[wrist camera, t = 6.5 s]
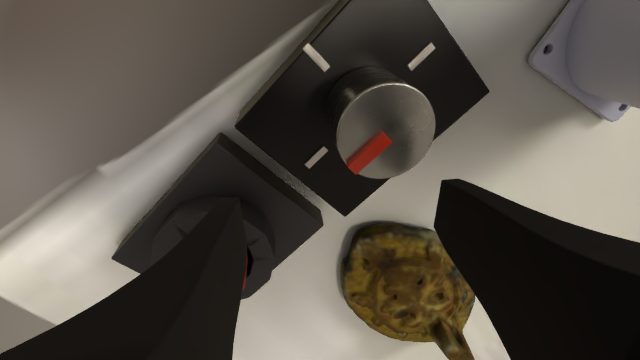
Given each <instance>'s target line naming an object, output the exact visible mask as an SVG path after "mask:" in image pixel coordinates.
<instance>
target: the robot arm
mask: <svg viewBox="0 0 640 360" xmlns="http://www.w3.org/2000/svg"><path fill="white" fill-rule="evenodd" d="M545 46H547V50H546V52H544V53H543V50H544V48H545ZM528 63H529V65H530V66H531V67H533V68H534V69H536V70H537V71H538V72H540V73H541V74H542V75H544V76H545V77H547V78H548V79H549V80H551V81H552V82H554V83H555V84H556V85H558V86H559V87H561V88H562V89H563V90H565V91H566V92H568V93H569V94H570V95H572V96H573V97H574V98H576V99H577V100H579V101H580V102H581V103H583V104H584V105H586V106H587V107H588V108H590V109H591V110H593V111H594V112H595V113H597V114H598V115H600V116H601V117H602V118H604V119H605V120H608V121H611V122H613V121H616V120H618V119H619V118H620V117H621V116H622V115H623V114H624V113H625V112H626V111H627V110H628V109H629V108H630V107H631V106H633V107H636V108H640V0H570V1H569V3H568V4H567V5H566V7H565V8H564V9H563V11H562V12H561V13H560V15H559V16H558V17H557V19H556V20H555V21H554V23H553V24H552V25H551V27H550V28H549V29H548V31H547V32H546V33H545V35H544V36H543V37H542V39H541V40H540V41H539V43H538V44H537V45H536V47H535V48H534V49H533V51H532V52H531V54H530V55H529V58H528ZM620 105H621V106H620ZM434 228H435V230H436V233H437V235H438V237H439V239H440V241H441V243H442V245H443V247H444V249H445V251H446V252H447V254H448V255H449V257H450V258H451V260H452V261H453V263H454V264H455V266H456V267H457V269H458V270H459V272H460V273H461V275H462V276H463V278H464V279H465V281H466V282H467V284H468V285H469V286H470V288H471V289H472V291H473V292H474V294H475V295H476V297H477V298H478V300H479V301H480V303H481V304H482V306H483V308H484V309H485V311H486V313H487V314H488V316H489V318H490V320H491V322H492V324H493V326H494V328H495V329H496V331H497V333H498V335H499V337H500V339H501V341H502V343H503V345H504V347H505V349H506V351H507V353H508V355H509V357H510V359H511V360H640V243H639V242H634V241H630V240H626V239H623V238H619V237H615V236H611V235H607V234H603V233H600V232H596V231H593V230H589V229H586V228H583V227H580V226H577V225H574V224H571V223H568V222H564V221H561V220H559V219H556V218H553V217H550V216H548V215H545V214H543V213H540V212H537V211H535V210H532V209H530V208H527V207H525V206H522V205H520V204H518V203H515V202H513V201H511V200H508V199H506V198H504V197H501V196H499V195H497V194H495V193H492V192H490V191H488V190H486V189H483V188H481V187H479V186H476V185H474V184H472V183H469V182H466V181H464V180H460V179H449V180H442V182H441V187H440V193H439V199H438V204H437V210H436V216H435V222H434ZM246 258H247V241H246V235H245V229H244V223H243V218H242V212H241V206H240V200H239V197H233V198H221V199H220V200H219V201H218V202H217V203H216V204H215V205H214V206H213V207H212V209H211V210H210V211H209V212H208V213H207V214H206V215H205V216H204V217H203V219H202V220H201V221H200V222H199V223H198V224H197V225H196V226H195V227H194V228H193V229H192V230H191V231H190V232H189V233H188V234H187V235H186V236H185V237H184V238H183V239H182V240H181V241H180V242H179V243H178V244H177V245H176V246H175V247H173V248H172V249H171V250H170V251H169V252H168V253H167V254H166V255H165V256H163V257H162V258H161V259H160V260H159V261H157V262H156V263H155V264H153V265H152V266H151V267H150V268H148V269H147V270H146V271H144V272H143V273H142V274H140V275H139V276H138V277H136V278H135V279H133V280H132V281H130V282H129V283H127V284H126V285H124V286H123V287H121V288H120V289H118V290H117V291H115V292H114V293H112V294H111V295H109V296H108V297H106V298H105V299H103V300H101V301H100V302H98V303H96V304H95V305H93V306H91V307H90V308H88V309H86V310H85V311H83V312H81V313H79V314H77V315H76V316H74V317H72V318H70V319H69V320H67V321H65V322H63V323H61V324H59V325H57V326H56V327H54V328H52V329H50V330H48V331H46V332H44V333H42V334H40V335H38V336H36V337H34V338H32V339H30V340H28V341H26V342H24V343H22V344H20V345H18V346H16V347H14V348H12V349H9V350H7V351H5V352H3V353H1V354H0V360H232V354H233V342H234V335H235V328H236V322H237V317H238V311H239V306H240V300H241V295H242V289H243V284H244V278H245V272H246Z"/></svg>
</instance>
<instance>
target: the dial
mask: <svg viewBox="0 0 640 360" xmlns="http://www.w3.org/2000/svg"><path fill="white" fill-rule="evenodd" d="M325 118H326V123H327V126H328V128H329V131H330V133H331V135H332V138H333V140H334V142H335V145H336V147H337V149H338V152H339V154H340V156H341V158H342V160H343V161H344V162H345V164H346V165H347V167H348V168H349V169H350V170H351V171H352V172H353V173H355V174H356V175H357V174H359V175H362V176H365V177H368V178H374V179H384V178H390V177H394V176H397V175H400V174H402V173H404V172H406V171H408V170H409V169H411V168H412V167H414V166H415V165H416V164H417V163H418V162H419V161H420V160H421V159H422V158H423V157H424V155H425V154H426V153H427V151H428V149H429V147H430V146H431V143H432V141H433V138H434V134H435V114H434V111H433V108H432V105H431V103H430V102H429V100H428V99H427V97H426V96H425V95H424V94H423V93H422V92H421V91H419V90H418V89H417V88H415V87H413V86H412V85H410V84H408V83H407V82H405V81H403V80H401V79H400V78H398V77H396V76H395V75H393V74H391V73H390V72H388V71H386V70H384V69H381V68H377V67H362V68H358V69H355V70H352V71H350V72H348V73H347V74H345V75H344V76H342V77H341V78H340V79H339V80H338V81H337V82H336V83H335V84H334V86H333V87H332V89H331V90H330V92H329V94H328V97H327V100H326V105H325Z"/></svg>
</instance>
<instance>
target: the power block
mask: <svg viewBox="0 0 640 360" xmlns="http://www.w3.org/2000/svg"><path fill="white" fill-rule="evenodd" d="M233 197H239V200H240V206H241V212H242V218H243V223H244V229H245V235H246V241H247V256H248V264H247V274H246V282H245V287H244V289H243V291H242V295H241V299H245V298H248V297H250V296H252V295H253V294H254V293H255V292H256V291H257V290H258V289H260V288H261V287H262V286H263V285H264V284H265V283H267V282H268V281H269V280H270V277H271V273H272V270H273V269H274V268H276V267H277V266H278V265H279V264H280V263H281V262H282V261H284V260H285V259H286V258H287V257H288V256H289V255H290V254H292V253H293V252H294V251H295V250H296V249H297V248H298V247H300V246H301V245H302V244H303V243H304V242H305V241H306V240H307V239H309V238H310V237H311V236H312V235H313V234H314V233H315V232H317V231H318V230H319V229H320V228H321V227H322V226H323V225H324V224H323V220H322V215H321V211H320V210H319V209H318V208H317V207H316V206H314V205H313V204H312V203H311V202H309V201H308V200H307V199H305V198H304V197H303V196H302V195H300V194H299V193H298V192H297V191H295V190H294V189H293V188H291V187H290V186H289V185H288V184H286V183H285V182H284V181H283V180H281V179H280V178H279V177H277V176H276V175H275V174H274V173H272V172H271V171H270V170H269V169H267V168H266V167H265V166H263V165H262V164H261V163H260V162H258V161H257V160H256V159H255V158H253V157H252V156H251V155H249V154H248V153H247V152H246V151H244V150H243V149H242V148H241V147H239V146H238V145H237V144H235V143H234V142H233V141H232V140H230V139H229V138H228V137H227V136H225V135H224V134H223V133H219V134H218V135H217V136H216V137H215V139H214V140H213V141H212V142H211V143H210V144H209V145H208V146H207V147H206V149H205V150H204V151H203V152H202V153H201V154H200V155H199V156H198V157H197V159H196V160H195V161H194V162H193V163H192V164H191V165H190V166H189V167H188V169H187V170H186V171H185V172H184V173H183V174H182V175H181V176H180V178H179V179H178V180H177V181H176V182H175V183H174V184H173V185H172V186H171V188H170V189H169V190H168V191H167V192H166V193H165V194H164V195H163V196H162V198H161V199H160V200H159V201H158V202H157V203H156V204H155V205H154V206H153V208H152V209H151V210H150V211H149V212H148V213H147V214H146V215H145V216H144V218H143V219H142V220H141V221H140V222H139V223H138V224H137V225H136V226H135V228H134V229H133V230H132V231H131V232H130V233H129V234H128V235H127V236H126V238H125V239H124V240H123V241H122V242H121V244H120V245H119V247H118V249H117V250H116V252H115V253H114V255H113V256H112V259H113V260H114V261H116V262H118V263H120V264H122V265H124V266H126V267H128V268H130V269H132V270H134V271H136V272H138V273H140V274H142V273H143V272H144V271H146V270H147V269H148V268H150V267H151V266H152V265H153V264H155V263H156V262H157V261H159V260H160V259H161V258H162V257H163V256H165V255H166V254H167V253H168V252H169V251H170V250H171V249H172V248H173V247H175V246H176V245H177V244H178V243H179V242H180V241H181V240H182V239H183V238H184V237H185V236H186V235H187V234H188V233H189V232H190V231H191V230H192V229H193V228H194V227H195V226H196V225H197V224H198V223H199V222H200V221H201V220H202V219H203V217H204V216H205V215H206V214H207V213H208V212H209V211H210V210H211V209H212V207H213V206H214V205H215V204H216V203H217V202H218V201H219V200H220V199H221V198H233Z"/></svg>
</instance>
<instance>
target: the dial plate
mask: <svg viewBox="0 0 640 360" xmlns="http://www.w3.org/2000/svg"><path fill="white" fill-rule="evenodd" d="M362 67H377V68H381V69H384V70H386V71H388V72H390V73H391V74H393V75H395V76H396V77H398V78H400V79H401V80H403V81H405V82H407V83H408V84H410V85H412V86H413V87H415V88H417V89H418V90H419V91H421V92H422V93H423V94H424V95H425V96H426V97H427V99H428V100H429V102H430V103H431V105H432V108H433V111H434V114H435V134H434V138H433V140H435V139H436V138H437V137H438V136H439V135H440V134H442V133H443V132H444V131H445V130H446V129H447V128H448V127H450V126H451V125H452V124H453V123H454V122H455V121H457V120H458V119H459V118H460V117H461V116H462V115H463V114H465V113H466V112H467V111H468V110H469V109H470V108H472V107H473V106H474V105H475V104H476V103H477V102H479V101H480V100H481V99H482V98H483V97H484V96H485V95H487V94H488V93H489V92H490V91H489V89H488V88H487V86H486V85H485V83H484V82H483V80H482V79H481V78H480V76H479V75H478V73H477V72H476V70H475V69H474V67H473V66H472V65H471V63H470V62H469V60H468V59H467V57H466V56H465V54H464V53H463V51H462V50H461V49H460V47H459V46H458V44H457V43H456V41H455V40H454V38H453V37H452V36H451V34H450V33H449V31H448V30H447V28H446V27H445V25H444V24H443V22H442V21H441V20H440V18H439V17H438V15H437V14H436V12H435V11H434V9H433V8H432V7H431V5H430V4H429V2H428V1H427V0H340V1H339V2H338V3H337V4H336V5H335V6H334V7H333V9H332V10H331V11H330V12H329V13H328V14H327V15H326V16H325V17H324V18H323V20H322V21H321V22H320V23H319V24H318V25H317V26H316V27H315V28H314V30H313V31H312V32H311V33H310V34H309V35H308V36H307V37H306V38H305V40H304V41H303V42H302V43H301V44H300V45H299V46H298V47H297V48H296V50H295V51H294V52H293V53H292V54H291V55H290V56H289V57H288V58H287V60H286V61H285V62H284V63H283V64H282V65H281V66H280V67H279V68H278V70H277V71H276V72H275V73H274V74H273V75H272V76H271V77H270V78H269V80H268V81H267V82H266V83H265V84H264V85H263V86H262V87H261V88H260V90H259V91H258V92H257V93H256V94H255V95H254V96H253V97H252V98H251V100H250V101H249V102H248V103H247V104H246V105H245V106H244V107H243V108H242V110H241V111H240V112H239V115H238V118H237V121H236V124H235V128H236V129H237V130H238V131H240V132H241V133H242V134H243V135H245V136H246V137H247V138H248V139H249V140H251V141H252V142H253V143H254V144H256V145H257V146H258V147H259V148H261V149H262V150H263V151H264V152H266V153H267V154H268V155H269V156H270V157H272V158H273V159H274V160H275V161H277V162H278V163H279V164H280V165H282V166H283V167H284V168H285V169H287V170H288V171H289V172H290V173H291V174H293V175H294V176H295V177H296V178H298V179H299V180H300V181H301V182H303V183H304V184H305V185H306V186H307V187H309V188H310V189H311V190H312V191H314V192H315V193H316V194H317V195H319V196H320V197H321V198H322V199H324V200H325V201H326V202H327V203H328V204H330V205H331V206H332V207H333V208H335V209H336V210H337V211H338V212H340V213H341V214H342V215H343V216H347V215H348V214H349V213H350V212H351V211H353V210H354V209H355V208H356V207H357V206H358V205H360V204H361V203H362V202H363V201H364V200H365V199H366V198H368V197H369V196H370V195H371V194H372V193H373V192H375V191H376V190H377V189H378V188H379V187H380V186H381V185H383V184H384V183H385V182H386V181H387V180H388V179H390V178H391V177H390V178H384V179H374V178H368V177H365V176H362V175H359V174H357V175H356V174H355V173H353V172H352V171H351V170H350V169H349V168H348V167H347V165H346V164H345V162H344V161H343V160H342V158H341V156H340V154H339V152H338V149H337V147H336V145H335V142H334V140H333V138H332V135H331V133H330V131H329V128H328V126H327V123H326V118H325V105H326V100H327V97H328V94H329V92H330V90H331V89H332V87H333V86H334V84H335V83H336V82H337V81H338V80H339V79H340V78H341V77H342V76H344V75H345V74H347V73H348V72H350V71H352V70H355V69H358V68H362Z"/></svg>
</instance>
